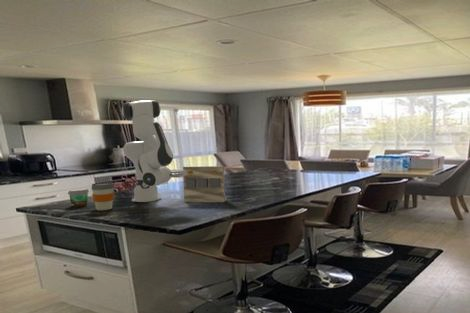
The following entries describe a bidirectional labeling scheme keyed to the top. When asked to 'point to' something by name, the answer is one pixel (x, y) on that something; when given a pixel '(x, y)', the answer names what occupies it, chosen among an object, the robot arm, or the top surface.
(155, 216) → the top surface
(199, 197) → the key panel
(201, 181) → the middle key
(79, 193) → the food container
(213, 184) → the key
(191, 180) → the key
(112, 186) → the reusable coffee cup
